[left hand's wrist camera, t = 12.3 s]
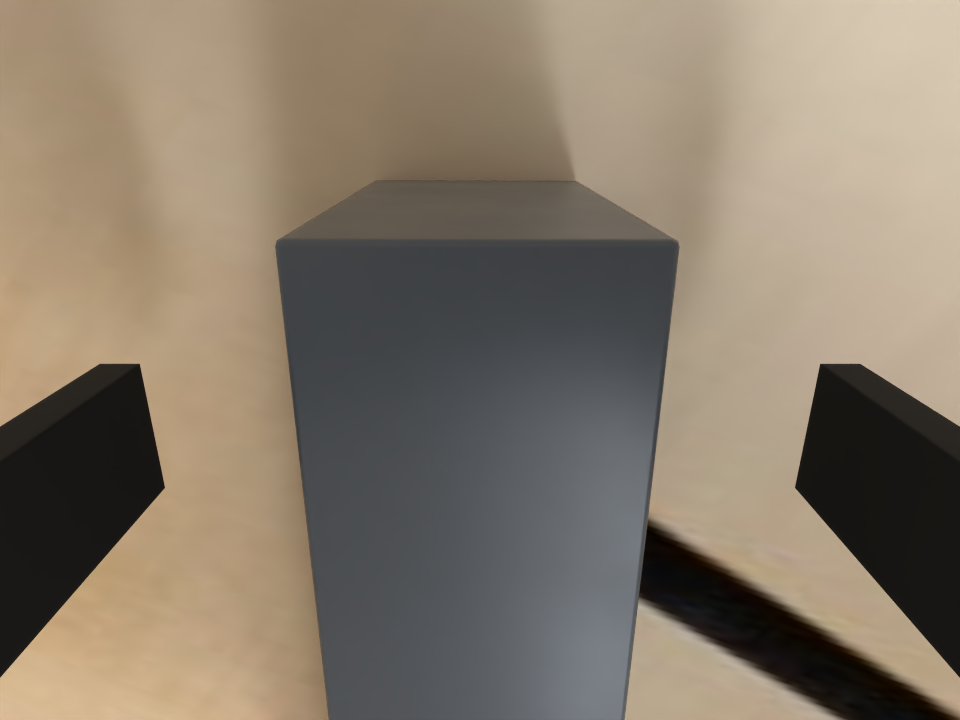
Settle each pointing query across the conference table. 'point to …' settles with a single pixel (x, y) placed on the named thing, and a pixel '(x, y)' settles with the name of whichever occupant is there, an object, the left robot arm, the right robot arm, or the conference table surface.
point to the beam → (476, 443)
